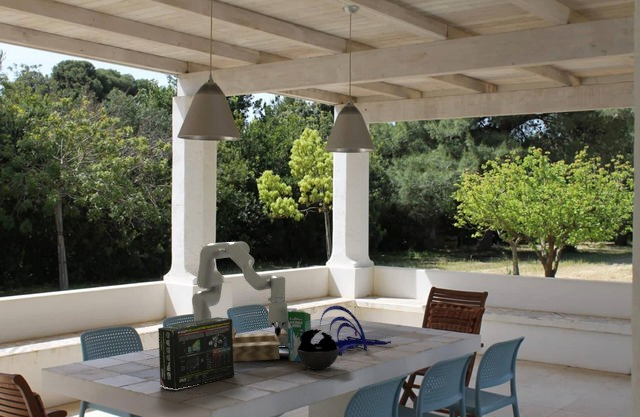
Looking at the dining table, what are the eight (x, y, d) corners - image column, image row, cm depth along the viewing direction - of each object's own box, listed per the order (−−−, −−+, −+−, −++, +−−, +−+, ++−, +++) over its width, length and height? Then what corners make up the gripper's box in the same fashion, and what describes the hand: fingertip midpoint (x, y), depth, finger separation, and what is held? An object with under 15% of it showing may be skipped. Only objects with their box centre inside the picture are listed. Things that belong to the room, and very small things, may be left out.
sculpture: (392, 346, 406) (387, 299, 404) (350, 363, 381) (345, 313, 380) (344, 340, 430) (340, 295, 429) (302, 355, 406) (297, 308, 404)
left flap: (231, 342, 377) (235, 331, 377) (229, 336, 393) (233, 326, 394) (232, 342, 377) (236, 331, 377) (230, 336, 393) (234, 326, 394)
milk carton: (311, 358, 382) (310, 309, 381) (305, 361, 373) (304, 311, 373) (294, 357, 385) (294, 308, 384) (288, 360, 376) (287, 311, 376)
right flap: (278, 339, 381) (287, 333, 382) (274, 333, 398) (283, 328, 399) (278, 340, 381) (288, 334, 382) (274, 334, 398) (283, 329, 399)
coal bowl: (298, 364, 366) (298, 326, 366) (339, 364, 366) (338, 325, 366) (296, 374, 346) (295, 333, 346) (339, 373, 346) (338, 333, 346)
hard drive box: (290, 348, 408) (290, 311, 407) (277, 348, 409) (276, 311, 409) (297, 343, 423) (296, 307, 423) (284, 342, 424) (283, 307, 424)
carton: (233, 364, 369) (232, 346, 369) (228, 351, 401) (228, 335, 401) (281, 361, 374) (281, 343, 374) (273, 349, 406) (273, 332, 406)
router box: (219, 373, 352) (217, 316, 352) (235, 376, 345) (234, 318, 345) (157, 388, 325) (156, 327, 324) (173, 392, 318) (172, 329, 317)
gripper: (264, 301, 384) (264, 336, 385) (293, 300, 387) (292, 336, 387) (262, 299, 392) (262, 334, 392) (291, 298, 394) (291, 333, 395)
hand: (277, 335), depth 390 cm, fingers closed
